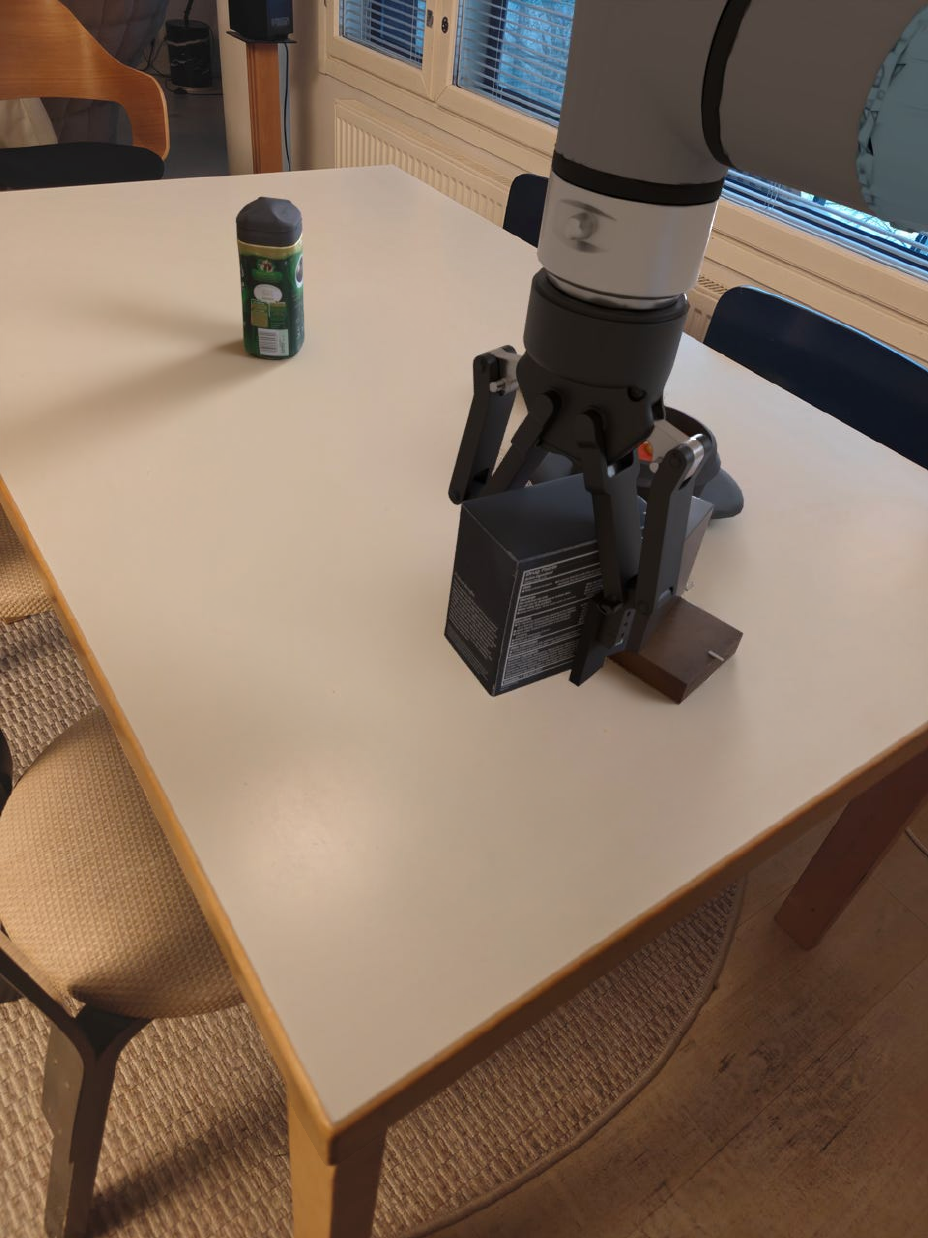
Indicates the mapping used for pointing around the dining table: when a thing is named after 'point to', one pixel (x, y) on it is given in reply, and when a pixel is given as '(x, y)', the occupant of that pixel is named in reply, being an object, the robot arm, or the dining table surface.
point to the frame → (694, 536)
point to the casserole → (707, 486)
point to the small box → (525, 582)
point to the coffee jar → (271, 277)
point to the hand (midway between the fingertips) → (534, 638)
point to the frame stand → (681, 650)
